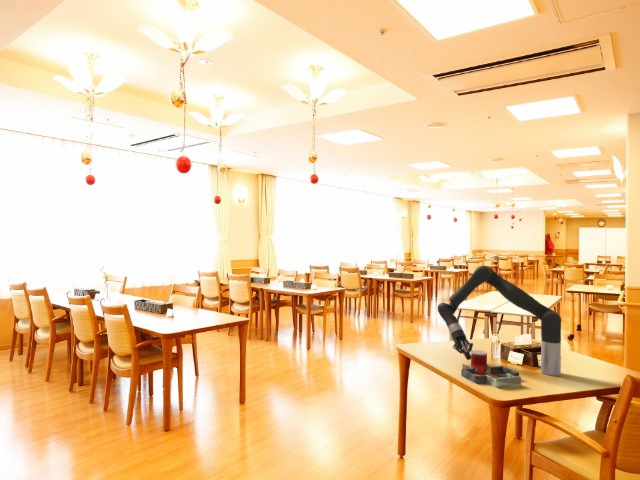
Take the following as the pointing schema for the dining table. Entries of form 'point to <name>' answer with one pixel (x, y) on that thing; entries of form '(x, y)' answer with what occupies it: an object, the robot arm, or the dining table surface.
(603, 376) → the dining table surface
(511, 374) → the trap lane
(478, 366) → the canned food
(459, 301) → the robot arm
